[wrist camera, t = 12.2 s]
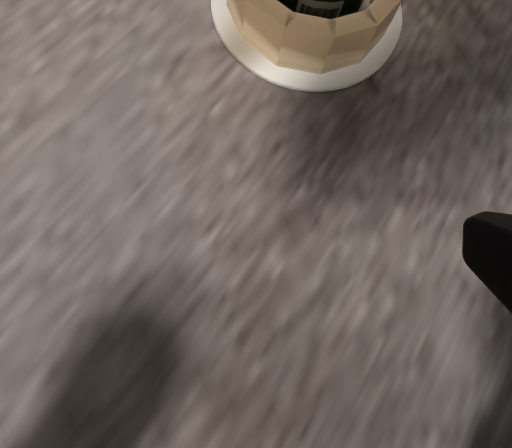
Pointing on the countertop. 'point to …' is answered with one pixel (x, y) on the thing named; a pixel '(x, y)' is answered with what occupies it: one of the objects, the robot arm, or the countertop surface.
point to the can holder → (308, 42)
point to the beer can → (323, 7)
